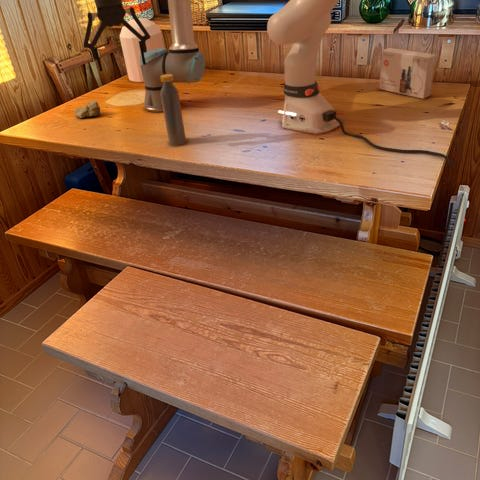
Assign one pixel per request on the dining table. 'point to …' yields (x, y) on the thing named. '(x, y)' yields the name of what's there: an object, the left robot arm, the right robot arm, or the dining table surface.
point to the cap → (166, 78)
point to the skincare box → (407, 72)
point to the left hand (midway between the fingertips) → (122, 67)
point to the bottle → (173, 114)
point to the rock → (88, 110)
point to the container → (132, 46)
